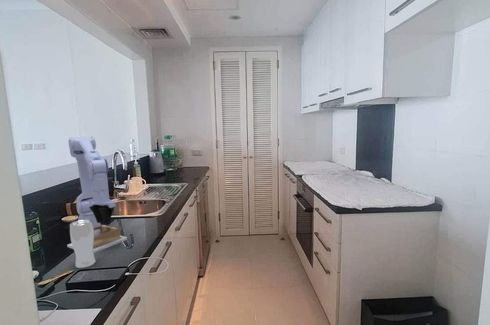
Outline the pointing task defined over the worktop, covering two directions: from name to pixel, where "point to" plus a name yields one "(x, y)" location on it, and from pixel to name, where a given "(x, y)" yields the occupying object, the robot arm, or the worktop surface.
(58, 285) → the worktop surface
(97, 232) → the post stand
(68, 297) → the worktop surface
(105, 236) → the wood collar
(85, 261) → the beer glass
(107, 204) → the robot arm
